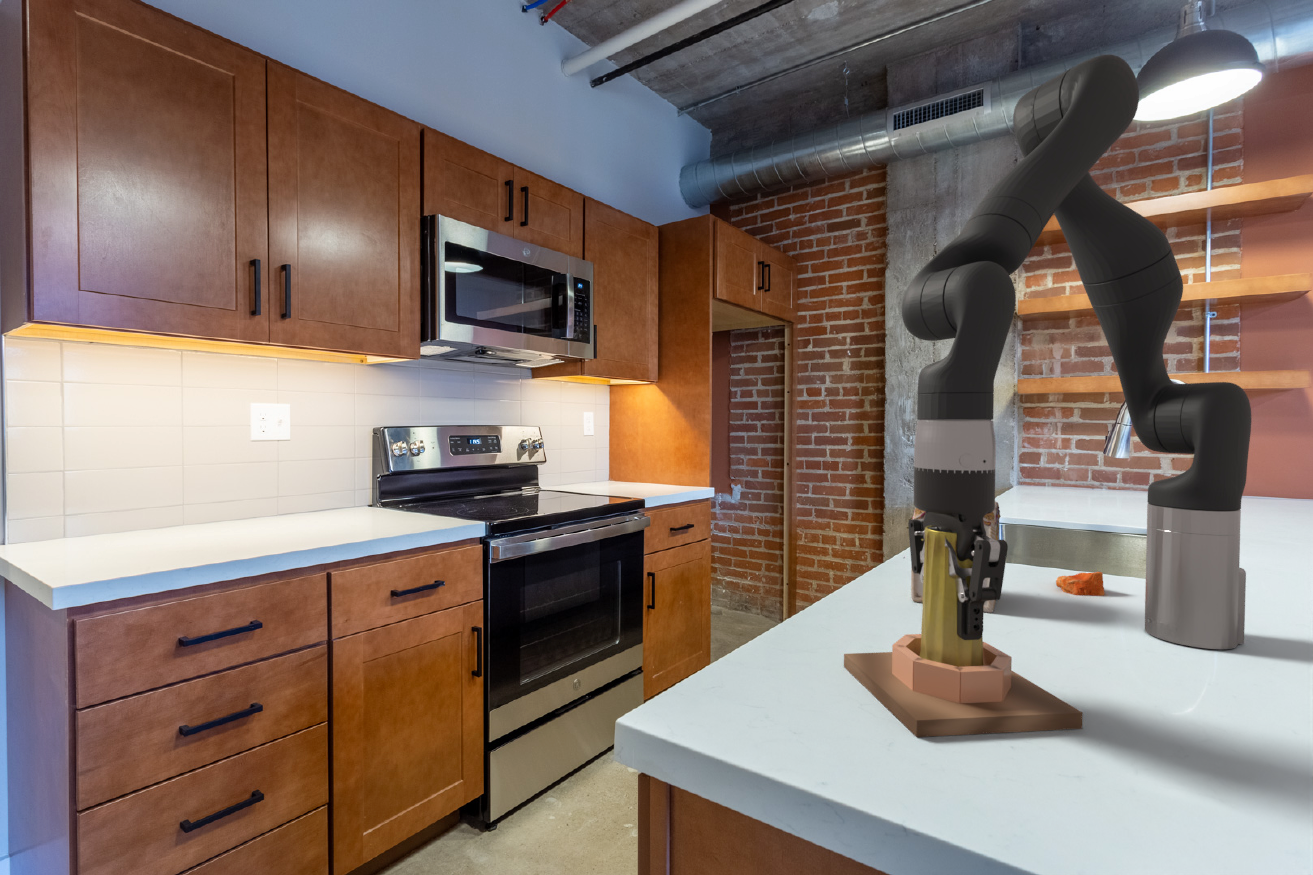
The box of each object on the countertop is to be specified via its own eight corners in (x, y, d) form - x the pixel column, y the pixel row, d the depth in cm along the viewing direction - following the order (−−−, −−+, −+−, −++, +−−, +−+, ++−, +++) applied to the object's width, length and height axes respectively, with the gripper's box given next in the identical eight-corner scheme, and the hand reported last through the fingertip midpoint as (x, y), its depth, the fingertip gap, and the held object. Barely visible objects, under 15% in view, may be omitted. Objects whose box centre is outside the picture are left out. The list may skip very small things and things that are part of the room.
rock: (1020, 588, 108) (1021, 564, 108) (1078, 584, 111) (1078, 560, 111) (1082, 608, 97) (1082, 580, 97) (1144, 603, 100) (1144, 576, 99)
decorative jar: (909, 602, 97) (910, 487, 97) (921, 585, 107) (922, 481, 107) (996, 614, 91) (998, 492, 91) (1000, 596, 101) (1002, 485, 101)
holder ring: (967, 658, 70) (967, 632, 70) (1032, 699, 59) (1033, 668, 59) (878, 662, 69) (878, 635, 69) (929, 704, 58) (929, 673, 58)
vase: (992, 681, 60) (995, 535, 60) (925, 676, 62) (927, 533, 61) (973, 657, 66) (975, 525, 66) (913, 653, 68) (914, 523, 67)
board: (975, 661, 73) (975, 648, 73) (1082, 728, 57) (1082, 712, 57) (843, 666, 71) (844, 653, 71) (916, 736, 55) (916, 720, 55)
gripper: (1038, 469, 57) (1034, 652, 57) (948, 460, 71) (946, 606, 72) (960, 470, 56) (958, 656, 57) (885, 460, 70) (884, 608, 71)
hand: (951, 627), depth 64 cm, fingers closed on vase, 5 cm apart
